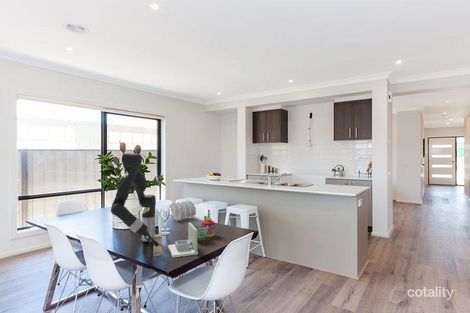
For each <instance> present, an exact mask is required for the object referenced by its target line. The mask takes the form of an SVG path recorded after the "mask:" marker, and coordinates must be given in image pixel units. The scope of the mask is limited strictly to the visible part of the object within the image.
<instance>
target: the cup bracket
mask: <svg viewBox="0 0 470 313" xmlns="http://www.w3.org/2000/svg"><path fill="white" fill-rule="evenodd" d="M187 226H188V227H187V229H188V230H187V232H188V234H187V235H188V236H187V238H188V239H185V240H184V239H183V240H175V242H174V243H173V244H169V245H167V249H168V251H169V253H170V255H171V257H172V258H179V257H181V256H182V257H187V256H194V255H199V252H198V242H197V228H196V226H194V225H193V223H191V222H188V225H187ZM182 257H181V258H182Z"/></svg>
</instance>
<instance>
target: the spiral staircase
mask: <svg viewBox="0 0 470 313" xmlns="http://www.w3.org/2000/svg"><path fill="white" fill-rule="evenodd" d="M169 206H170V208H171V210H170V212H171V215H172V218H173V219H174V221H178V222H179V221H180V220H182V221H183V220H185V219H190V218H194V217H195V216H196V214H197V211H196V210H197V208H196V205H195V203H194V202H192V201H191V200H186V201H183V200H181V202H179V201H178V202H177V203H176V202H175V203H174V202H172V203H170V204H169V205H168V207H169Z"/></svg>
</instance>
